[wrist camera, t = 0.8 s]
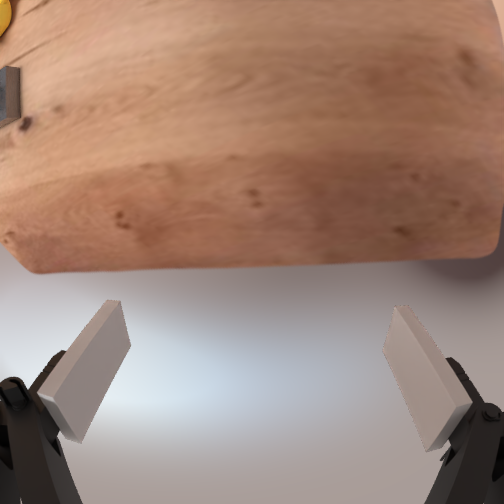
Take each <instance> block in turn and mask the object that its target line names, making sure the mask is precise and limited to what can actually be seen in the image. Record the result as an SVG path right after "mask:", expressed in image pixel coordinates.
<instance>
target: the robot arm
mask: <svg viewBox="0 0 504 504" xmlns="http://www.w3.org/2000/svg"><path fill="white" fill-rule="evenodd" d="M130 347H131V344H130V340H129V336H128V332H127V328H126V323H125V319H124V315H123V311H122V306H121V301H115V300H114V301H113V300H107V301H106V302H105V303H104V304H103V305H102V307H101V308H100V309H99V310H98V312H97V313H96V314H95V315H94V317H93V318H92V319H91V321H90V322H89V323H88V324H87V325H86V327H85V328H84V329H83V330H82V332H81V333H80V334H79V336H78V337H77V338H76V340H75V341H74V342H73V344H72V345H71V346H70V347H69V349H68V350H67V351H64V350H61V351H60V352H59V353H57V354H56V355H54V356H53V357H52V358H51V360H50V361H49V362H48V364H47V366H45V368H44V369H43V372H41V373H40V375H39V376H38V377H37V378H36V380H35V381H34V382H33V384H32V385H31V387H30V388H29V389H27V388H26V386H25V384H24V382H23V381H22V380H21V379H20V378H18V377H9V378H7V379H4V380H3V381H2V382H0V400H1V401H0V504H21V503H20V497H21V501H22V504H83V503H82V501H81V499H80V496H79V494H78V491H77V489H76V487H75V484H74V481H73V479H72V476H71V473H70V471H69V468H68V465H67V462H66V459H65V457H64V453H63V450H62V447H61V444H60V441H59V439H58V437H57V435H58V433H59V431H61V432H62V434H63V435H64V437H65V438H66V439H68V440H71V441H74V442H77V443H82V441H83V439H84V436H85V434H86V432H87V430H88V428H89V426H90V424H91V422H92V420H93V418H94V416H95V414H96V412H97V410H98V408H99V406H100V404H101V402H102V400H103V398H104V396H105V394H106V392H107V390H108V388H109V386H110V384H111V382H112V380H113V379H114V377H115V374H116V373H117V371H118V369H119V367H120V365H121V363H122V362H123V360H124V358H125V356H126V354H127V352H128V350H129V349H130ZM383 353H384V355H385V357H386V359H387V361H388V363H389V366H390V368H391V370H392V372H393V374H394V377H395V379H396V381H397V383H398V386H399V388H400V390H401V392H402V395H403V397H404V399H405V402H406V404H407V406H408V409H409V411H410V413H411V416H412V418H413V421H414V423H415V425H416V428H417V430H418V433H419V435H420V438H421V441H422V443H423V446H424V448H425V451H426V452H429V451H432V450H436V449H439V448H442V447H443V445H444V444H445V443H446V441H447V440H448V439H449V441H450V444H451V446H450V448H449V449H448V450H447V451H446V453H445V454H444V455H443V456H442V458H441V459H440V461H442V460H443V459H444V458H445V459H444V461H443V464H442V466H441V469H440V471H439V473H438V476H437V478H436V480H435V483H434V485H433V487H432V489H431V491H430V493H429V495H428V497H427V500H426V501H425V503H424V504H483V503H484V504H504V412H502V411H501V409H500V408H498V406H496V405H494V404H492V403H485V402H484V401H483V399H482V397H481V396H480V394H479V393H478V391H477V389H476V388H475V387H474V385H473V383H472V382H471V381H470V380H469V377H468V376H467V374H465V371H464V370H463V368H462V367H461V365H460V364H459V363H458V362H457V361H455V360H454V359H453V358H451V357H450V358H445V357H444V356H443V354H442V353H441V351H440V350H439V348H438V347H437V345H436V344H435V342H434V341H433V339H432V338H431V336H430V335H429V334H428V332H427V331H426V329H425V328H424V326H423V325H422V324H421V322H420V321H419V319H418V318H417V317H416V315H415V314H414V312H413V311H412V310H411V308H410V307H409V306H408V305H404V306H395V307H394V311H393V315H392V319H391V323H390V326H389V330H388V334H387V337H386V341H385V345H384V348H383Z"/></svg>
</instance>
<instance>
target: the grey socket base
mask: <svg viewBox="0 0 504 504" xmlns="http://www.w3.org/2000/svg"><path fill="white" fill-rule="evenodd" d="M20 117H21V116H20V92H19V68H17V67H10V66H5V67H4V68H2V69H1V70H0V128H1V127H2V126H4V125H6V124H8V123H10V122H12V121H14V120H16V119H18V118H20Z"/></svg>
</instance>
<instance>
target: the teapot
mask: <svg viewBox="0 0 504 504" xmlns="http://www.w3.org/2000/svg"><path fill="white" fill-rule="evenodd" d="M11 14H12V11H11V4H10V1H9V0H0V36H1V35H2V34H3V32H4V31H5V30H6V28H7V27H8V25H9V23H10V20H11Z"/></svg>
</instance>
